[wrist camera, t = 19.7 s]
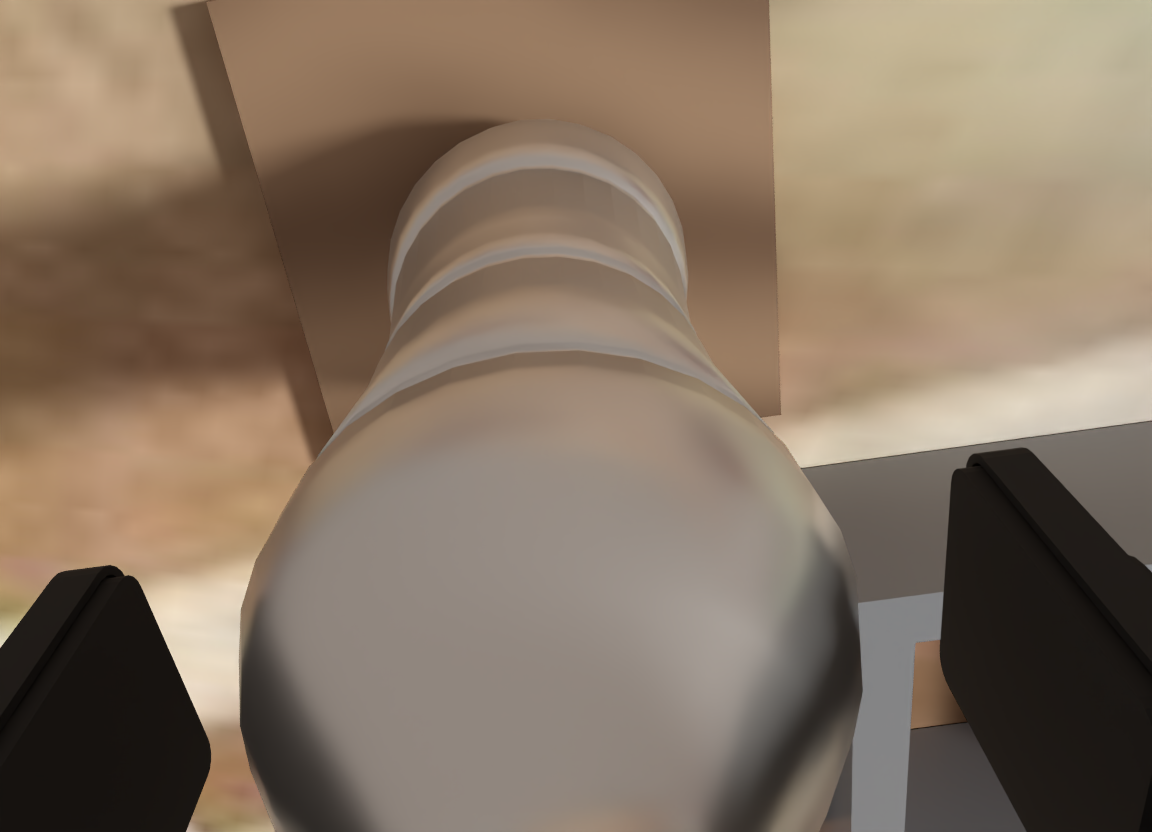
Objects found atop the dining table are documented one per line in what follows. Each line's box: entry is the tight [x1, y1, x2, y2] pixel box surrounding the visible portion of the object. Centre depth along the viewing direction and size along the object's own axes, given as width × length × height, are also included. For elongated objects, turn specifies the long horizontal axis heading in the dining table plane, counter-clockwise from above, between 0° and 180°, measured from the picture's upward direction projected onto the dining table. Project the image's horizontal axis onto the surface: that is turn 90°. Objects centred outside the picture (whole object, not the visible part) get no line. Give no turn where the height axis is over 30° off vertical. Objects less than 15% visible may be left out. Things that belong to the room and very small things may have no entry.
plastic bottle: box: [239, 119, 863, 832], centre depth 14 cm, size 6×7×20 cm
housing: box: [801, 421, 1152, 832], centre depth 28 cm, size 16×22×7 cm
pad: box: [206, 0, 781, 433], centre depth 23 cm, size 12×12×1 cm
